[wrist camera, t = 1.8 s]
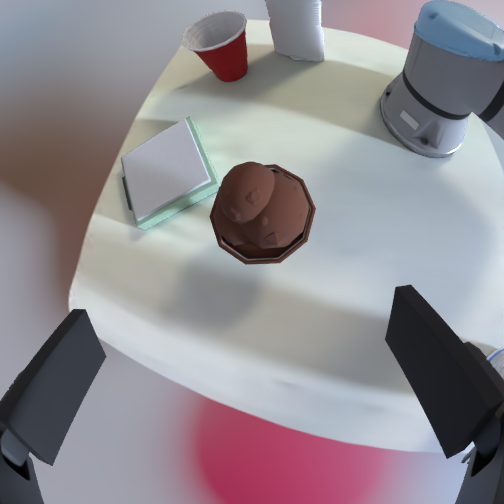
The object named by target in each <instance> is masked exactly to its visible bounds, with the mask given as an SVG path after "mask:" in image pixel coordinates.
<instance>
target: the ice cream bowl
mask: <svg viewBox="0 0 504 504" xmlns="http://www.w3.org/2000/svg"><path fill="white" fill-rule="evenodd" d="M315 209H316V208H315V206H314V204H313V201H312V199H311V197H310V194H309V192H308V190H307V188H306V186H305V183H304V181H303V179H301V178H299V177H298V176H296V175H294V174H292V173H290V172H289V171H287V170H285V169H283V168H281V167H279V166H278V165H276V164H273V165H262V164H260V163H256V162H246V163H243V164H240V165H237V166H234V167H233V168H232V169H231V170H230V171H229V172H228V173H227V175H226V176H225V177H224V178H223V181H222V184H221V186H220V187H219V189H218V192H217V195H216V198H215V201H214V204H213V207H212V211H211V214H210V219H211V223H212V226H213V229H214V232H215V235H216V239H217V242H218V245H219V247H221V248H222V249H224V250H225V251H227V252H228V253H230V254H231V255H232V256H234V257H235V258H237V259H238V260H240V261H241V262H243V263H244V264H269V263H281V262H282V261H283V260H284V259H286V258H287V257H288V256H289V255H291V254H292V253H293V252H294V251H296V250H297V249H298V248H299V247H301V246H302V245H303V244H304V243H306V242H307V240H308V236H309V233H310V229H311V225H312V221H313V217H314V213H315Z"/></svg>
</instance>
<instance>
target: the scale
mask: <svg viewBox="0 0 504 504" xmlns="http://www.w3.org/2000/svg"><path fill="white" fill-rule="evenodd" d="M121 161H122V166H123V171H124V177H123V178H122V180H123V185H124V189H125V194H126V198H127V202H128V206H129V209H130V210H132V211H133V214H134V218H135V222H136V225H137V227H138V228H140V229H143V230H147V229H148V228H150V227H152V226H154V225H156V224H157V223H159V222H161V221H163V220H164V219H166V218H168V217H170V216H172V215H174V214H175V213H177V212H179V211H181V210H183V209H185V208H187V207H188V206H190V205H192V204H194V203H196V202H198V201H200V200H202V199H204V198H206V197H208V196H210V195H211V194H213V193H215V192H217V191H218V189H219V187H220V186H221V184H220V182H219V179H218V177H217V174H216V172H215V170H214V167H213V165H212V163H211V160H210V158H209V156H208V153H207V151H206V149H205V146H204V144H203V141H202V139H201V137H200V134H199V132H198V130H197V127H196V125H195V123H194V122H193V120H192V119H191V117H190V116H189V117H187V118H185V119H183V120H181V121H180V122H178V123H176V124H174V125H172V126H171V127H169V128H167V129H166V130H164V131H162V132H160V133H159V134H157V135H155V136H154V137H152V138H151V139H149V140H147V141H146V142H144V143H143V144H141V145H139V146H138V147H136V148H135V149H133V150H132V151H130V152H129V153H127V154H126V155H124V156H123V157H122V158H121Z"/></svg>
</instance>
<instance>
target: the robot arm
mask: <svg viewBox="0 0 504 504" xmlns="http://www.w3.org/2000/svg"><path fill="white" fill-rule="evenodd" d="M471 112H473V113H474V114H476V115H477V116H478V117H479V118H480V119H482V120H483V121H484V122H485V123H486V124H487V125H488V126H489V127H491V128H492V129H493V130H494V131H495V132H496V133H497V134H498V135H499V136H500V137H501V138H502V139H503V140H504V31H503V30H502V29H500V28H498V25H497V24H496V23H494V22H493V21H492V20H490V19H489V18H487V17H486V16H484V15H483V14H481V13H479V12H477V11H476V10H474V9H472V8H469V7H467V6H464V5H462V4H459V3H455V2H452V1H446V0H432V1H429V2H427V3H425V4H424V5H423V7H422V8H421V11H420V14H419V17H418V20H417V21H416V22H415V24H414V34H413V38H412V41H411V45H410V48H409V52H408V55H407V58H406V62H405V65H404V68H403V71H402V72H401V73H400V74H399V75H398V76H397V77H396V78H395V79H394V80H393V81H392V82H391V83H390V84H389V85H388V86H387V88H386V89H385V91H384V93H383V96H382V100H381V114H382V117H383V120H384V122H385V124H386V126H387V127H388V129H389V130H390V132H391V133H392V134H393V135H394V136H395V137H396V138H397V139H398V140H399V141H400V142H401V143H402V144H403V145H405V146H406V147H407V148H409V149H410V150H412V151H414V152H416V153H418V154H420V155H423V156H426V157H431V158H444V157H447V156H449V155H451V154H453V153H454V152H455V151H456V150H457V149H458V147H459V146H460V145H461V143H462V141H463V138H464V135H465V130H466V126H467V121H468V116H469V115H470V113H471ZM385 340H386V342H387V344H388V346H389V347H390V349H391V351H392V352H393V354H394V356H395V358H396V359H397V361H398V363H399V365H400V367H401V368H402V370H403V372H404V374H405V376H406V377H407V379H408V381H409V383H410V385H411V387H412V389H413V390H414V392H415V394H416V396H417V398H418V400H419V402H420V404H421V406H422V408H423V410H424V412H425V414H426V416H427V418H428V420H429V422H430V424H431V426H432V428H433V430H434V432H435V434H436V436H437V438H438V440H439V443H440V445H441V447H442V449H443V451H444V454H445V456H446V458H447V459H448V458H450V457H452V456H454V455H456V454H458V453H460V452H461V451H463V450H465V449H466V447H467V446H468V445H469V444H470V443H471V442H472V441H473V442H474V444H475V447H474V448H473V449H472V450H471V451H470V452H469V453H468V454H467V455H466V456H465V457H464V458H463V460H462V463H464V462H465V461H466V460H467V459H468V458H470V460H469V462H468V463H467V464H468V467H467V471H466V474H465V477H464V480H463V483H462V486H461V489H460V492H459V495H458V498H457V500H456V503H455V504H504V379H503V378H502V377H501V375H500V374H499V373H498V371H497V370H496V369H495V368H494V367H493V365H492V364H491V363H490V361H489V360H487V358H486V356H485V355H484V354H483V353H482V351H481V350H480V349H479V348H477V347H476V346H474V345H473V344H471V343H470V342H466V343H463V342H462V341H461V340H460V339H459V337H458V336H457V335H456V334H455V333H454V332H453V330H452V329H451V328H450V327H449V326H448V325H447V323H446V322H445V321H444V320H443V319H442V318H441V317H440V316H439V314H438V313H437V312H436V311H435V310H434V309H433V308H432V307H431V306H430V305H429V303H428V302H427V301H426V300H425V299H424V298H423V297H422V296H421V295H420V294H419V293H418V292H417V291H416V290H415V289H414V288H413V287H412V285H406V286H400V287H396V288H395V294H394V299H393V305H392V310H391V315H390V320H389V325H388V329H387V334H386V338H385ZM105 358H106V355H105V352H104V351H103V348H102V346H101V344H100V342H99V340H98V338H97V335H96V333H95V331H94V329H93V326H92V324H91V322H90V319H89V317H88V314H87V312H86V309H73V310H72V311H71V312H70V313H69V315H68V316H67V317H66V318H65V319H64V321H63V322H62V323H61V324H60V325H59V326H58V328H57V329H56V330H55V331H54V332H53V334H52V335H51V336H50V337H49V339H48V340H47V341H46V342H45V343H44V345H43V346H42V347H41V349H40V350H39V351H38V352H37V354H36V355H35V356H34V357H33V359H32V360H31V361H30V363H29V364H28V365H27V367H26V368H25V369H24V370H23V371H22V372H21V373H20V374H19V375H18V376H17V378H16V379H15V380H14V384H12V385H11V386H10V387H9V390H8V391H7V392H6V393H5V395H4V397H3V398H2V399H1V401H0V504H44V502H43V499H42V496H41V492H40V489H39V486H38V482H37V478H36V474H35V470H34V466H33V462H32V459H31V458H30V457H29V455H28V454H29V452H31V453H32V454H33V455H34V456H36V457H37V458H38V459H39V460H41V461H43V462H45V463H47V464H49V465H51V466H53V463H54V461H55V459H56V456H57V454H58V451H59V449H60V447H61V445H62V443H63V440H64V438H65V436H66V434H67V432H68V430H69V427H70V425H71V423H72V421H73V419H74V417H75V415H76V413H77V411H78V409H79V407H80V405H81V403H82V401H83V399H84V397H85V395H86V393H87V391H88V389H89V387H90V385H91V384H92V382H93V380H94V378H95V376H96V374H97V373H98V370H99V369H100V367H101V365H102V363H103V361H104V360H105Z"/></svg>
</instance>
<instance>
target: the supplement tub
mask: <svg viewBox="0 0 504 504" xmlns="http://www.w3.org/2000/svg"><path fill="white" fill-rule="evenodd" d="M487 360H489V361H490V363H491V364H492V365H493V367H494V368H495V369H496V370H497V371H498V373H499V374H500V375H501V377H502V378H503V379H504V348H503V349H498V350H496V351H494V352H492V353H491V354H490V355H489V356H488V357H487Z"/></svg>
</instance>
